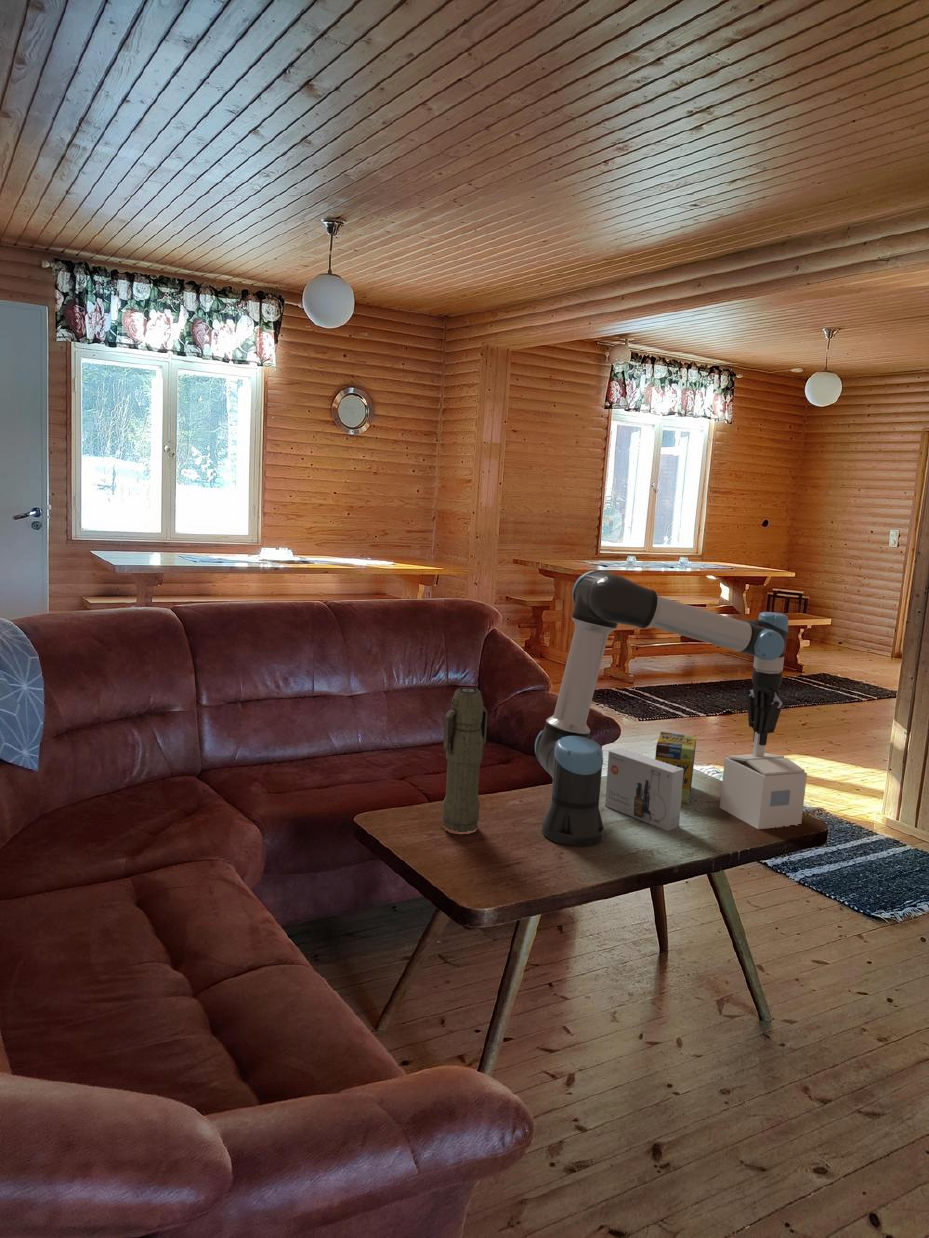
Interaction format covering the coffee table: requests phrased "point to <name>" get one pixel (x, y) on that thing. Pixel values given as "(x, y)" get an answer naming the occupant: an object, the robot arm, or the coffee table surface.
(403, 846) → the coffee table surface
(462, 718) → the thermos
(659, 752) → the protein box
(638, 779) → the skincare box
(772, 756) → the far flap
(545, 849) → the coffee table surface
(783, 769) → the near flap
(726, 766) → the carton
